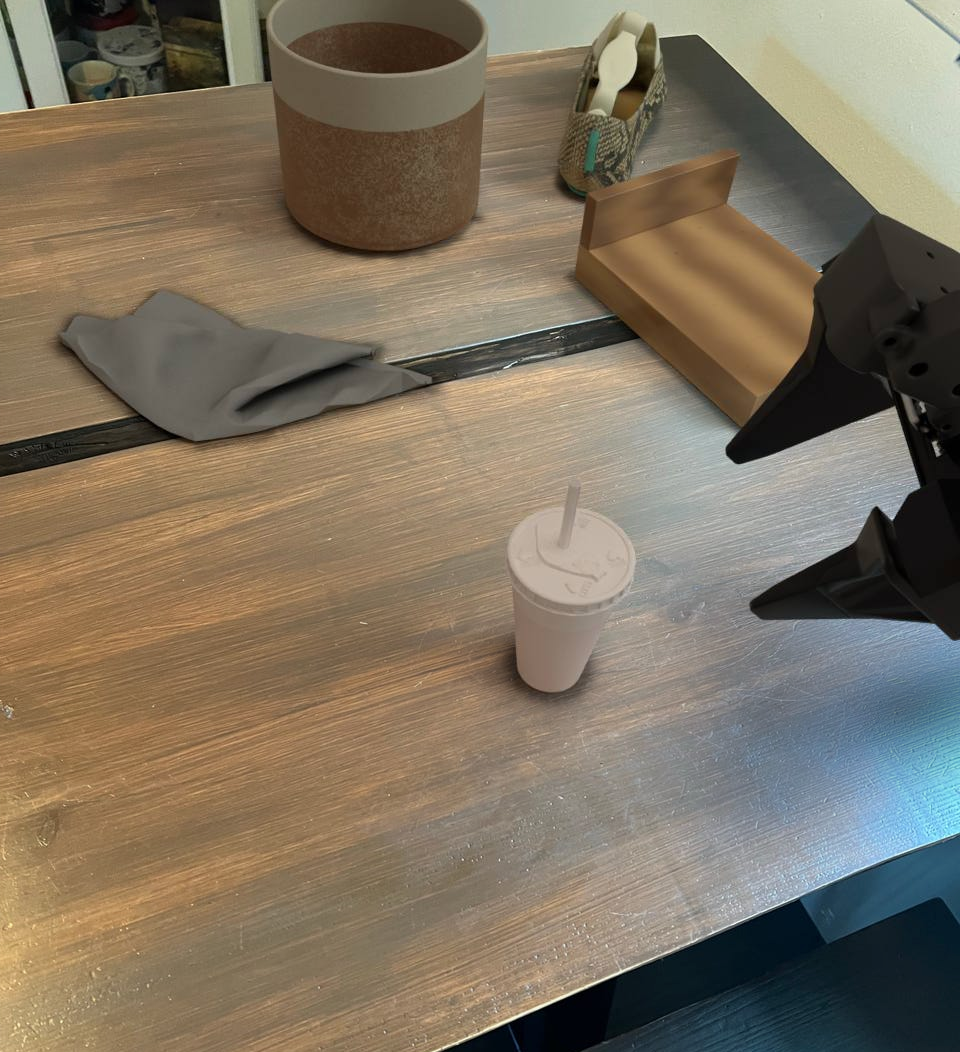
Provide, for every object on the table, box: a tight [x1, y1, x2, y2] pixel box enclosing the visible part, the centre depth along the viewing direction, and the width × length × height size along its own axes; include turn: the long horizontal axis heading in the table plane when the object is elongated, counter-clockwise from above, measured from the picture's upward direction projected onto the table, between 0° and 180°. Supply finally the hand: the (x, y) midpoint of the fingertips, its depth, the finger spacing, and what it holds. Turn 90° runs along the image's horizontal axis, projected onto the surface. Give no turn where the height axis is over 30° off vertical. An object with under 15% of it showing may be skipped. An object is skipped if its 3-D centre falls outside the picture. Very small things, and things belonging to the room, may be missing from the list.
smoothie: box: [504, 478, 637, 693], centre depth 50 cm, size 6×6×14 cm
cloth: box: [56, 289, 433, 442], centre depth 68 cm, size 26×14×2 cm, turn 71°
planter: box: [265, 0, 489, 252], centre depth 77 cm, size 16×16×14 cm
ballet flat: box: [557, 9, 668, 198], centre depth 87 cm, size 8×25×9 cm, turn 166°
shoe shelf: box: [573, 147, 823, 429], centre depth 73 cm, size 14×20×7 cm
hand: (741, 529), depth 44 cm, fingers open, 9 cm apart
